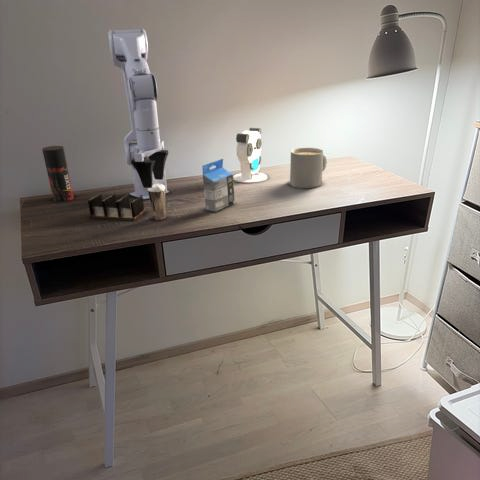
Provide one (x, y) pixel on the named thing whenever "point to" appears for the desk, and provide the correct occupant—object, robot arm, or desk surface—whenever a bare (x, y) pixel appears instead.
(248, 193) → the desk surface
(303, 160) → the coffee mug
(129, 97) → the robot arm
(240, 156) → the panda figurine
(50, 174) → the deodorant
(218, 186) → the label tape box
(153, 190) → the milkshake
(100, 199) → the letter rack
